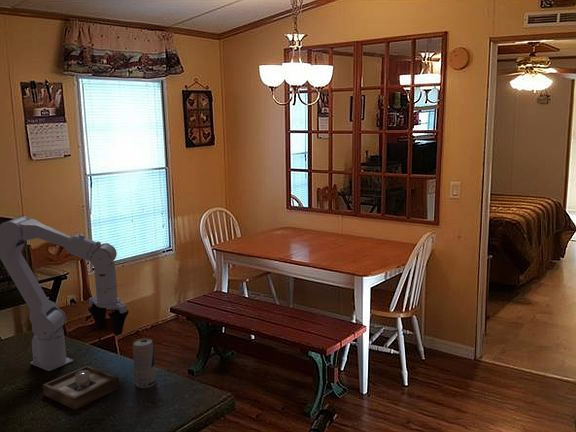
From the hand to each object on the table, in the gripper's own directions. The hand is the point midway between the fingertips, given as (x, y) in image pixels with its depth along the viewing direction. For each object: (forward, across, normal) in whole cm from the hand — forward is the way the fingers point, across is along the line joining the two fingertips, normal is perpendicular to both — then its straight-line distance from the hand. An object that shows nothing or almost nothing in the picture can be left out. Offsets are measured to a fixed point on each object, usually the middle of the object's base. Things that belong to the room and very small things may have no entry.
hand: (109, 331), depth 165 cm
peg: (+9, -8, +15) cm, 20 cm away
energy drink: (+10, -19, +4) cm, 22 cm away
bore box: (+9, -8, +16) cm, 20 cm away
